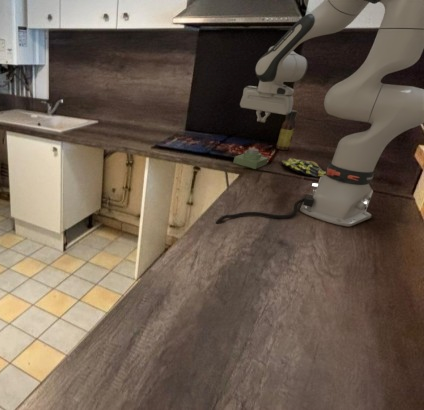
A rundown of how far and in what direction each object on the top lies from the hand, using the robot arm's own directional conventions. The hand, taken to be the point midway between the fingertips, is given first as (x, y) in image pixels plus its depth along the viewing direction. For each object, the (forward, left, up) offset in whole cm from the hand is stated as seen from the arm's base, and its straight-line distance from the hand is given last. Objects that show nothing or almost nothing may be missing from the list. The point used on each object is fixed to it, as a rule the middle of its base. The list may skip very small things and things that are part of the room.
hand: (260, 121), depth 152 cm
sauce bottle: (+43, +2, -19) cm, 47 cm away
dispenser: (0, 0, -19) cm, 19 cm away
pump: (0, 0, -14) cm, 14 cm away
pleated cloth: (+12, -18, -19) cm, 29 cm away
